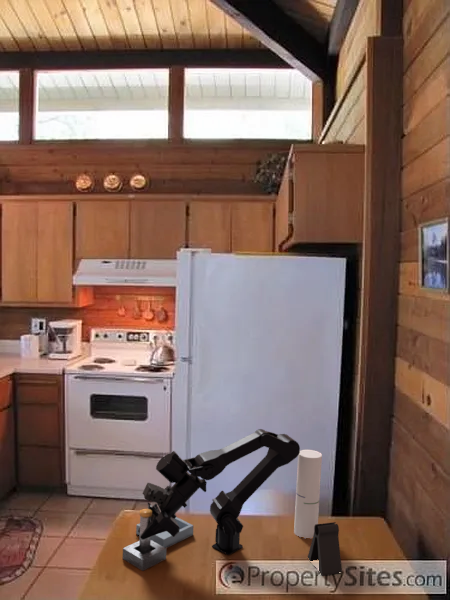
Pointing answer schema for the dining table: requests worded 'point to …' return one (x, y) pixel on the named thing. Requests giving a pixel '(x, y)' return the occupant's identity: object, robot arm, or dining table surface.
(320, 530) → the phone stand
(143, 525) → the pin
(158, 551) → the pin collar
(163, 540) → the tray
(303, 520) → the cylindrical container
